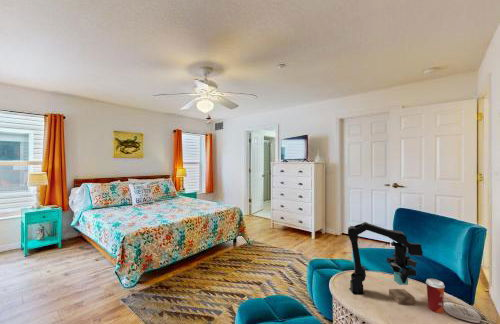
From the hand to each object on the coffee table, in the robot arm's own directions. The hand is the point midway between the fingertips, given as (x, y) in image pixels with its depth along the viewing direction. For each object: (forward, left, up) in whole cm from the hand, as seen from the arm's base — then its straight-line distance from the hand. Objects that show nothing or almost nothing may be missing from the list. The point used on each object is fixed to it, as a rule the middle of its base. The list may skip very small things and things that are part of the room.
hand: (400, 280), depth 137 cm
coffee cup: (+12, -10, -11) cm, 19 cm away
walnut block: (0, 0, -11) cm, 11 cm away
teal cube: (0, 0, -1) cm, 1 cm away
